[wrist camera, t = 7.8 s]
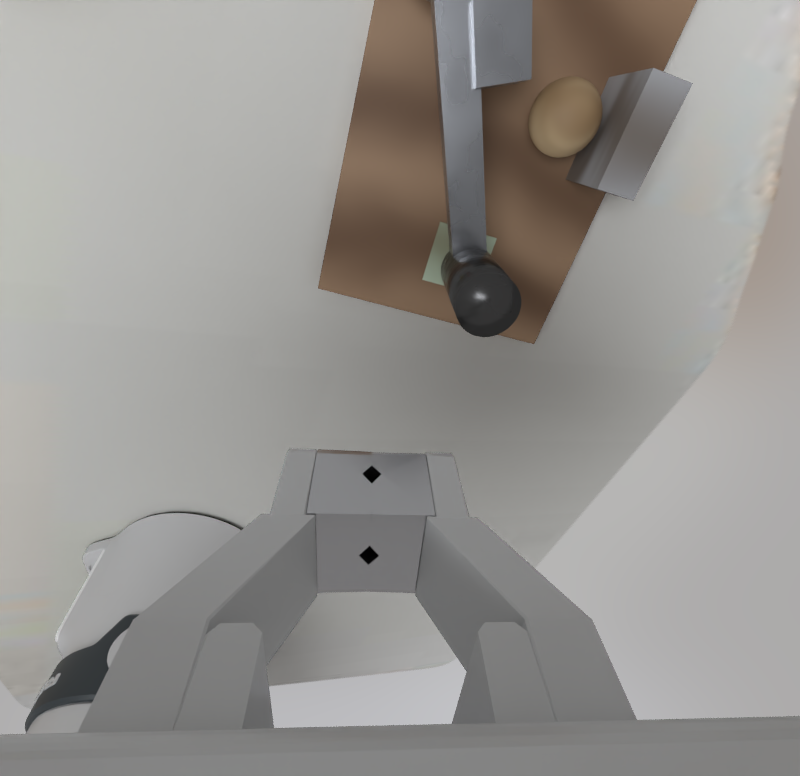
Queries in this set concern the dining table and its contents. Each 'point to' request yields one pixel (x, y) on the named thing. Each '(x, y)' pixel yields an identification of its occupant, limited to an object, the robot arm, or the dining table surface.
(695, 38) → the dining table surface
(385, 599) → the dining table surface
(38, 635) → the dining table surface
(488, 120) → the cracker base
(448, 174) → the lever
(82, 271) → the dining table surface
